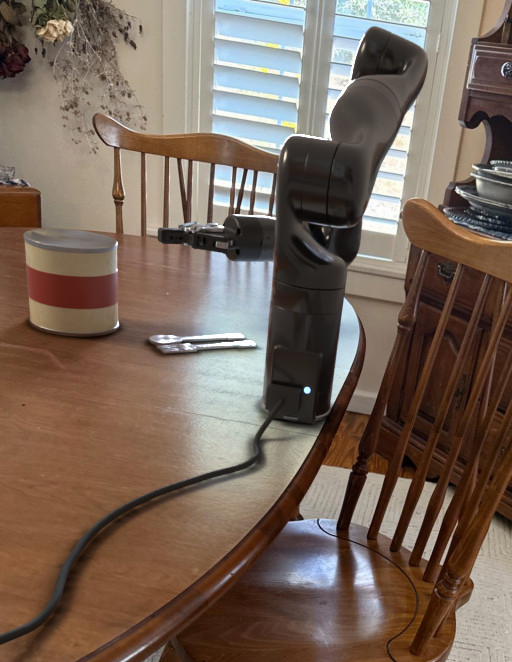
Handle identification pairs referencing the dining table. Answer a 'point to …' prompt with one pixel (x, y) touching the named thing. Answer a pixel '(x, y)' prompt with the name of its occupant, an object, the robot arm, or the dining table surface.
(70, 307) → the coffee tin
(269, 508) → the dining table surface
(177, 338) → the spoon
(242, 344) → the fork
